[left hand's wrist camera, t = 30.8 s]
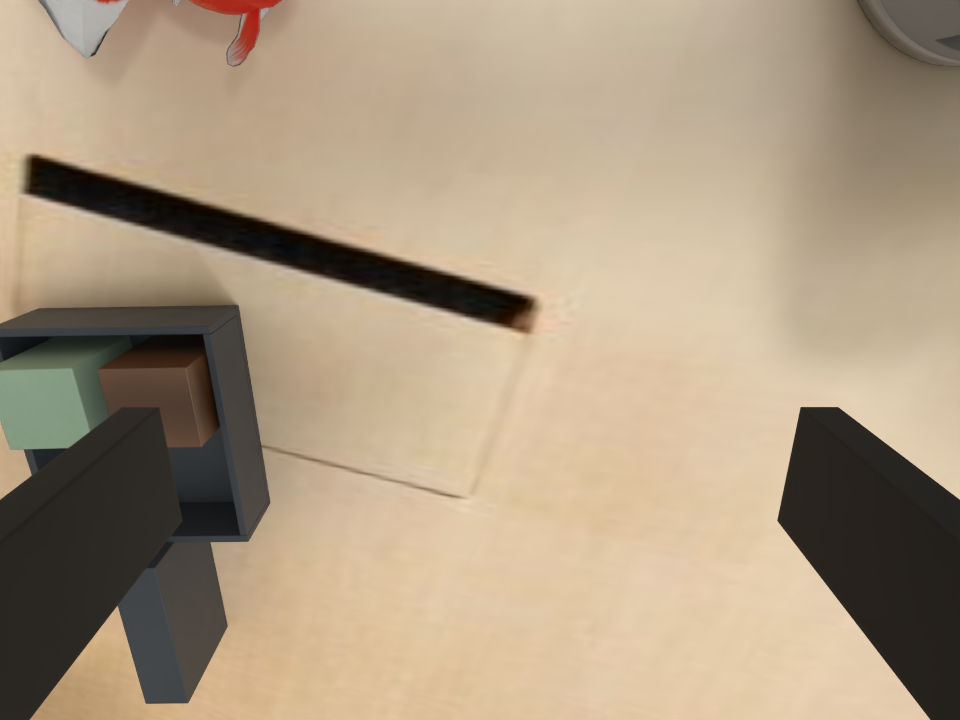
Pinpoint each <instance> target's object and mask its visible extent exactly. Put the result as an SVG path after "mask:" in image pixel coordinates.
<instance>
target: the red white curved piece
mask: <svg viewBox="0 0 960 720" xmlns="http://www.w3.org/2000/svg"><path fill="white" fill-rule="evenodd" d="M128 1H129V0H39V2H40V3H41V4H42V6H43V7H44V8H45V9H46V11H47V12H48V14H49V16H50V17H51V19H52V21H53V22H54V24H55V26H56V27H57V29H58V31H59V32H60V34H61V35H62V37H63V38H64V39H65V40H66V41H67V42H68V43H69V44H71V45H72V46H73V47H74V48H75V49H76V50H77V51H78V52H79V53H80V54H81V55H82V56H84V57H85V58H86V59H87V58H89V57H91V56H93V55H95V54H96V52H97V50H98V48H99V46H100V45H101V43H102V41H103V39H104V37H105V35H106V33H107V31H108V30H109V29H110V27H111V26H112V24H113V23H114V22H115V20H116V19H117V17H118V16H119V15H120V13H121V12H122V10H123V8H124V7H125V5H126V4H127V2H128ZM179 1H180V0H172V2H173V4H174V5H176V6H177V5H178V3H179ZM189 1H191V2H193V3H194V4H196V5H198V6H200V7H202V8H205V9H208V10H211V11H215V12H218V13H222V14H230V15H239V14H242V15H241V19H240V25H239V30H238V34H237V36H236V38H235V39H234V41H233V42H232V44H231V45H230V46H229V48H228V50H227V63H228V65H231V66H233V67H234V66H237V65H240V64H241V63H242V62H243V61H244V60H245V59H246V57H247V55H248V53H249V52H250V51H251V50H252V49H253V48H254V47H255V44H256V40H257V37H258V34H259V31H260V20H261V19H262V18H263V17H264V16H265V14H266V13H267V12H268V10H269V7H273V6H274V5H276V4H277V3H279V2H280V1H282V0H189Z"/></svg>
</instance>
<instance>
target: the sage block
mask: <svg viewBox="0 0 960 720" xmlns="http://www.w3.org/2000/svg"><path fill="white" fill-rule="evenodd" d="M131 348H133V346H132V342H131V338H130V335H112V336H80V337H54V338H51V339H49V340H47V341H45V342H43V343H41V344H39V345H37V346H35V347H33V348H31V349H28V350H26V351H24V352H22V353H20V354H18V355H16V356H14V357H12V358H10V359H7V360H5V361H3V362H1V363H0V421H1V424H2V427H3V430H4V433H5V436H6V439H7V442H8V445H9V447H10V450H19V449H54V448H69V447H70V446H72V445H73V444H74V443H76V442H77V441H78V440H79V439H81V438H82V437H83V436H85V435H86V434H87V433H89V432H90V431H91V430H93V429H94V428H95V427H97V426H98V425H99V424H100V423H102V422H103V421H104V420H106V419H107V418H108V417H109V414H108V410H107V406H106V402H105V398H104V394H103V391H102V387H101V383H100V379H99V375H98V372H97V369H99V368H100V367H102V366H104V365H105V364H107V363H109V362H110V361H112V360H113V359H115V358H117V357H118V356H120V355H122V354H123V353H125V352H126V351H128V350H130V349H131Z"/></svg>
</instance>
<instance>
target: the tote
mask: <svg viewBox="0 0 960 720" xmlns="http://www.w3.org/2000/svg"><path fill="white" fill-rule="evenodd" d="M112 335H130V338H131V342H132V346H133V347H135V346H136V345H138V344H139V343H141V342H143V341H144V340H146V339H148V338H149V337H151V336H177V335H203V338H204V343H205V348H206V354H207V359H208V365H209V370H210V375H211V381H212V386H213V391H214V397H215V402H216V408H217V413H218V418H219V424H220V427H219V428H218V429H217V431H216V432H215V433H214V434H213V435H212V436H211V437H210V438H209V440H208V441H207V442H206V443H205V444H204V445H203V446H202V447H169V448H168V452H169V457H170V462H171V467H172V472H173V476H174V481H175V486H176V491H177V496H178V501H179V506H180V511H181V515H182V520H183V521H182V522H181V524H180V525H179V526H178V527H177V529H176V530H175V531H174V533H173V534H172V535H171V537H170V538H169V539H168V540H167V542H166V543H165V544H164V546H163V547H162V548H161V550H160V551H159V552H158V553H157V555H156V556H155V557H154V559H153V560H152V561H151V562H150V564H149V565H148V566H147V568H146V569H145V570H144V572H143V573H142V574H141V575H140V577H139V578H138V579H137V581H136V582H135V583H134V585H133V586H132V587H131V588H130V590H129V591H128V592H127V594H126V595H125V596H124V598H123V599H122V600H121V601H120V603H119V604H118V608H119V611H120V615H121V618H122V622H123V625H124V629H125V632H126V636H127V639H128V643H129V646H130V650H131V653H132V657H133V660H134V664H135V667H136V671H137V674H138V678H139V681H140V685H141V688H142V692H143V695H144V699H145V702H146V704H160V703H189V701H190V699H191V697H192V695H193V693H194V691H195V689H196V687H197V685H198V683H199V681H200V679H201V677H202V675H203V674H204V672H205V670H206V668H207V666H208V664H209V662H210V660H211V658H212V656H213V654H214V652H215V650H216V648H217V646H218V644H219V642H220V640H221V638H222V636H223V634H224V633H225V631H226V629H227V621H226V616H225V611H224V607H223V602H222V597H221V592H220V587H219V583H218V578H217V573H216V568H215V563H214V559H213V554H212V549H211V544H210V542H248V541H249V540H250V538H251V536H252V534H253V533H254V531H255V529H256V527H257V526H258V524H259V522H260V520H261V518H262V517H263V515H264V513H265V511H266V510H267V508H268V506H269V504H270V498H269V492H268V486H267V480H266V474H265V467H264V461H263V455H262V449H261V443H260V436H259V430H258V424H257V418H256V412H255V405H254V399H253V393H252V387H251V381H250V374H249V368H248V362H247V356H246V350H245V344H244V337H243V331H242V325H241V319H240V313H239V306H172V307H108V308H43V309H36V310H34V311H31V312H29V313H26V314H24V315H21V316H19V317H16V318H14V319H11V320H9V321H6V322H3V323H1V324H0V363H1V362H3V361H5V360H7V359H10V358H12V357H14V356H16V355H18V354H20V353H22V352H24V351H26V350H28V349H31V348H33V347H35V346H37V345H39V344H41V343H43V342H45V341H47V340H49V339H51V338H54V337H80V336H112ZM66 449H68V448H54V449H24V452H25V455H26V458H27V461H28V464H29V467H30V470H31V474H32V475H34V474H35V473H36V472H37V471H39V470H40V469H41V468H43V467H44V466H45V465H47V464H48V463H49V462H51V461H52V460H53V459H55V458H56V457H57V456H58V455H60V454H61V453H62V452H64V451H65V450H66Z"/></svg>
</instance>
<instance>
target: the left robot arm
mask: <svg viewBox="0 0 960 720" xmlns="http://www.w3.org/2000/svg"><path fill="white" fill-rule="evenodd" d="M858 1H859V3H860V5H861V7H862V9H863V11H864V13H865V15H866V17H867V18H868V19H869V21H870V22H871V24H872V25H873V27H874V28H875V29H876V30H877V31H878V32H879V34H880V35H881V36H882V37H883V38H884V39H885V40H887V41H888V42H889V43H890V44H891V45H892V46H894V47H895V48H897V49H898V50H900V51H901V52H903V53H905V54H907V55H909V56H911V57H913V58H915V59H918V60H921V61H924V62H927V63H931V64H936V65H943V66H960V0H858ZM182 521H183V520H182V515H181V511H180V506H179V501H178V496H177V491H176V486H175V481H174V476H173V472H172V467H171V462H170V457H169V452H168V447H167V442H166V438H165V433H164V428H163V423H162V418H161V413H160V408H159V407H121V408H120V409H119V410H118V411H116V412H115V413H114V414H112V415H111V416H110V417H108V418H107V419H106V420H104V421H103V422H102V423H100V424H99V425H98V426H97V427H95V428H94V429H93V430H91V431H90V432H89V433H87V434H86V435H85V436H83V437H82V438H81V439H79V440H78V441H77V442H76V443H74V444H73V445H72V446H70V447H69V448H68V449H66V450H65V451H64V452H62V453H61V454H60V455H58V456H57V457H56V458H55V459H53V460H52V461H51V462H49V463H48V464H47V465H45V466H44V467H43V468H41V469H40V470H39V471H37V472H36V473H35V474H34V475H32V476H31V477H30V478H28V479H27V480H26V481H24V482H23V483H22V484H20V485H19V486H18V487H16V488H15V489H14V490H13V491H11V492H10V493H9V494H7V495H6V496H5V497H3V498H2V499H1V500H0V720H30V718H31V717H32V716H33V715H34V713H35V712H36V711H37V709H38V708H39V707H40V705H41V704H42V703H43V702H44V700H45V699H46V698H47V696H48V695H49V694H50V692H51V691H52V690H53V689H54V687H55V686H56V685H57V683H58V682H59V681H60V679H61V678H62V677H63V676H64V674H65V673H66V672H67V670H68V669H69V668H70V666H71V665H72V664H73V663H74V661H75V660H76V659H77V657H78V656H79V655H80V653H81V652H82V651H83V650H84V648H85V647H86V646H87V644H88V643H89V642H90V640H91V639H92V638H93V637H94V635H95V634H96V633H97V631H98V630H99V629H100V627H101V626H102V625H103V624H104V622H105V621H106V620H107V618H108V617H109V616H110V614H111V613H112V612H113V611H114V609H115V608H116V607H117V605H118V604H119V603H120V601H121V600H122V599H123V598H124V596H125V595H126V594H127V592H128V591H129V590H130V588H131V587H132V586H133V585H134V583H135V582H136V581H137V579H138V578H139V577H140V575H141V574H142V573H143V572H144V570H145V569H146V568H147V566H148V565H149V564H150V562H151V561H152V560H153V559H154V557H155V556H156V555H157V553H158V552H159V551H160V550H161V548H162V547H163V546H164V544H165V543H166V542H167V540H168V539H169V538H170V537H171V535H172V534H173V533H174V531H175V530H176V529H177V527H178V526H179V525H180V524H181V522H182ZM777 521H778V522H779V524H780V525H781V526H782V527H783V529H784V530H785V531H786V533H787V534H788V535H789V537H790V538H791V539H792V540H793V542H794V543H795V544H796V546H797V547H798V548H799V550H800V551H801V552H802V553H803V555H804V556H805V557H806V559H807V560H808V561H809V562H810V564H811V565H812V566H813V568H814V569H815V570H816V572H817V573H818V574H819V575H820V577H821V578H822V579H823V581H824V582H825V583H826V585H827V586H828V587H829V588H830V590H831V591H832V592H833V594H834V595H835V596H836V598H837V599H838V600H839V601H840V603H841V604H842V605H843V607H844V608H845V609H846V611H847V612H848V613H849V614H850V616H851V617H852V618H853V620H854V621H855V622H856V624H857V625H858V626H859V627H860V629H861V630H862V631H863V633H864V634H865V635H866V637H867V638H868V639H869V640H870V642H871V643H872V644H873V646H874V647H875V648H876V650H877V651H878V652H879V653H880V655H881V656H882V657H883V659H884V660H885V661H886V663H887V664H888V665H889V666H890V668H891V669H892V670H893V672H894V673H895V674H896V676H897V677H898V678H899V679H900V681H901V682H902V683H903V685H904V686H905V687H906V689H907V690H908V691H909V692H910V694H911V695H912V696H913V698H914V699H915V700H916V702H917V703H918V704H919V705H920V707H921V708H922V709H923V711H924V712H925V713H926V715H927V716H928V717H929V718H930V720H960V500H959V499H958V498H957V497H955V496H954V495H953V494H951V493H950V492H949V491H947V490H946V489H945V488H944V487H942V486H941V485H940V484H938V483H937V482H936V481H934V480H933V479H932V478H930V477H929V476H928V475H926V474H925V473H924V472H923V471H921V470H920V469H919V468H917V467H916V466H915V465H913V464H912V463H911V462H909V461H908V460H907V459H905V458H904V457H903V456H902V455H900V454H899V453H898V452H896V451H895V450H894V449H892V448H891V447H890V446H888V445H887V444H886V443H884V442H883V441H882V440H881V439H879V438H878V437H877V436H875V435H874V434H873V433H871V432H870V431H869V430H867V429H866V428H865V427H863V426H862V425H861V424H860V423H858V422H857V421H856V420H854V419H853V418H852V417H850V416H849V415H848V414H846V413H845V412H844V411H842V410H841V409H840V408H839V407H801V408H800V413H799V418H798V423H797V428H796V433H795V438H794V442H793V447H792V452H791V457H790V462H789V467H788V472H787V476H786V481H785V486H784V491H783V496H782V501H781V506H780V511H779V515H778V520H777Z"/></svg>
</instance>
